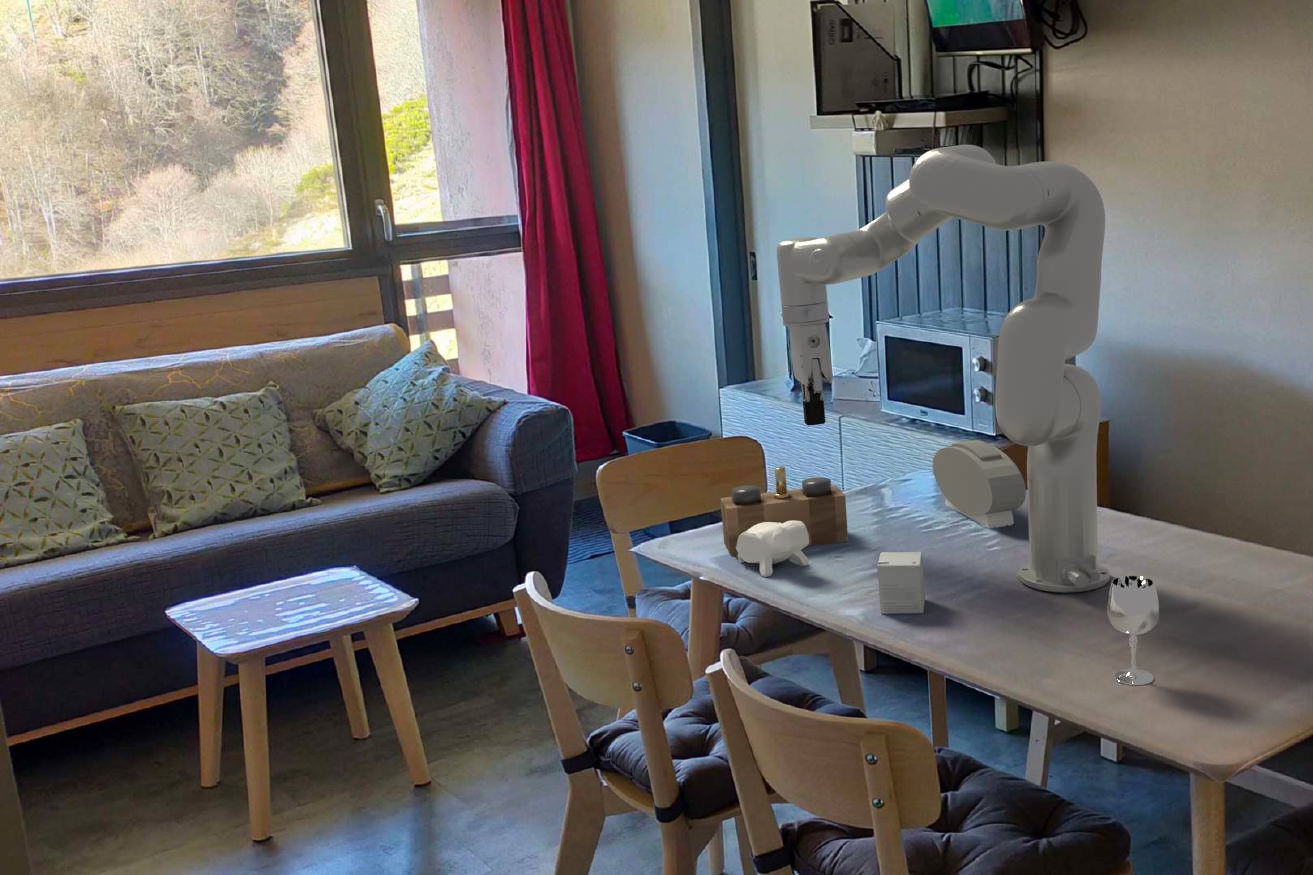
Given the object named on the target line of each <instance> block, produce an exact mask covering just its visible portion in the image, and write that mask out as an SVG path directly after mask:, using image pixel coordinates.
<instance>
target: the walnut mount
mask: <svg viewBox="0 0 1313 875" xmlns="http://www.w3.org/2000/svg"><path fill="white" fill-rule="evenodd" d="M787 491H789V492H791V497H790V498H786V499H775V498H773V493H774V492H775V491H771V492H763V493H762V492H761V501H760V502H758V503H754V504H748V505H737V504H734V503H733V502H732V496H728V497H727V496H726V497H721V498H720V501H719V502H720V508H721V509H720V510H721V512H720V513H721V524H722V535H723V544H724V545H725V547H726V550H727V551H728V554H729V556H734V555H738V551H737V550H736V547H737V542H738V537H739V535H740V534H741V533H743V532H746V531H747V530H748V529H750V528H751V527H753V526H754V525H756V524H759V523H763V522H776V523H779V522H780V523H782V524H783V523H785V522H787V521H792V520H794V521H801V522H803V523H804V525H805V526H806V528H807V532H808V535H809V544H808V545H807V546H806V547H810V546H818V545H827V544H836V543H842V542H843V543H845V542H849V532H848V518H847V517H848V516H847V515H848V514H847V501H846V494H845V493H844V492H843V491H842V490H841V489H840V488H839V487H838V486H837V485H836V484H831V493H830V494H828V495H825V496H817V497H807V496H805V495H803V490H802V488H798V489H789V490H788V489H787Z"/></svg>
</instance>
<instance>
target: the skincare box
mask: <svg viewBox="0 0 1313 875" xmlns="http://www.w3.org/2000/svg"><path fill="white" fill-rule="evenodd" d="M923 560H924V559H923V551H905V552H904V551H903V552H902V551H901V552H900V551H898V552H897V551H896V552H895V551H894V552H893V551H892V552H891V551H890V552H889V551H888V552H887V551H885V552H880V555H879V558H878V562H877V565H876V568H877V571H876V572H877V581H878V582H877V583H878V592H879V593H878V594H879V605H880V606H879V607H880V614H881V615H887V614H888V615H890V614H891V615H893V614H894V615H896V614H899V615H900V614H901V615H902V614H924V612H925V611H924V609H925V603H926V602H925V601H926V600H925V599H926V594H925V593H926V592H925V591H926V590H925V581H924V580H925V579H924V562H923Z"/></svg>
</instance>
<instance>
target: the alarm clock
mask: <svg viewBox="0 0 1313 875" xmlns="http://www.w3.org/2000/svg"><path fill="white" fill-rule="evenodd" d="M932 471H933V476H934V479H935V482H936V485H937V486H938V488H939V490H940V492H941V493H942V495H943V496H944V499H945V500H944V505H945V506H947V507H949V508H951V509H952V510H954V511H956V512H958V513H959V514H961V515H963V516H964V517H966V518H968V519H970V520H972V521H974V522H975V523H977V522H978V523H977V524H979V523H980V524H979V525H981V526H983V527H984V528H986V527H987V529H988V530H989V528H990V529H995V528H994V527H996V528H1001V527H1002V528H1003V527H1007V526H1006V525H1008V526H1012V525H1011V524H1014V515H1013V511H1016V510H1017V509H1019V508H1021V507H1022V506H1023V505H1024V502H1025V500H1026V496H1027V489H1026V483H1025V480H1024V477H1023V475H1022V472H1021V471H1020V470H1019V468H1018V466H1017V465H1016V463H1015V462H1014V461H1013V459H1011V458H1010V457H1009V455H1007V454H1006V453H1005V452H1003V451H1002V450H1001V449H999V448H997V447H995V446H994V445H992V444H989V443H987V442H985V441H982V440H978V439H974V440H965V441H959V442H953V443H952V444H951V446H947V447H943V448H941V449H938V451H937V452H936V453H935V454H934V455H933V458H932Z"/></svg>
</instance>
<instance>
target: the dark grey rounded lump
mask: <svg viewBox="0 0 1313 875" xmlns="http://www.w3.org/2000/svg"><path fill="white" fill-rule="evenodd" d="M761 493H762V492H761V487H760V486H759V485H758V486H757V485H739V486H736V487H733V488H732V489H731V497H732V502H733V503H734V504H737V505H748V504H754V503H758V502H760V501H761Z"/></svg>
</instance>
